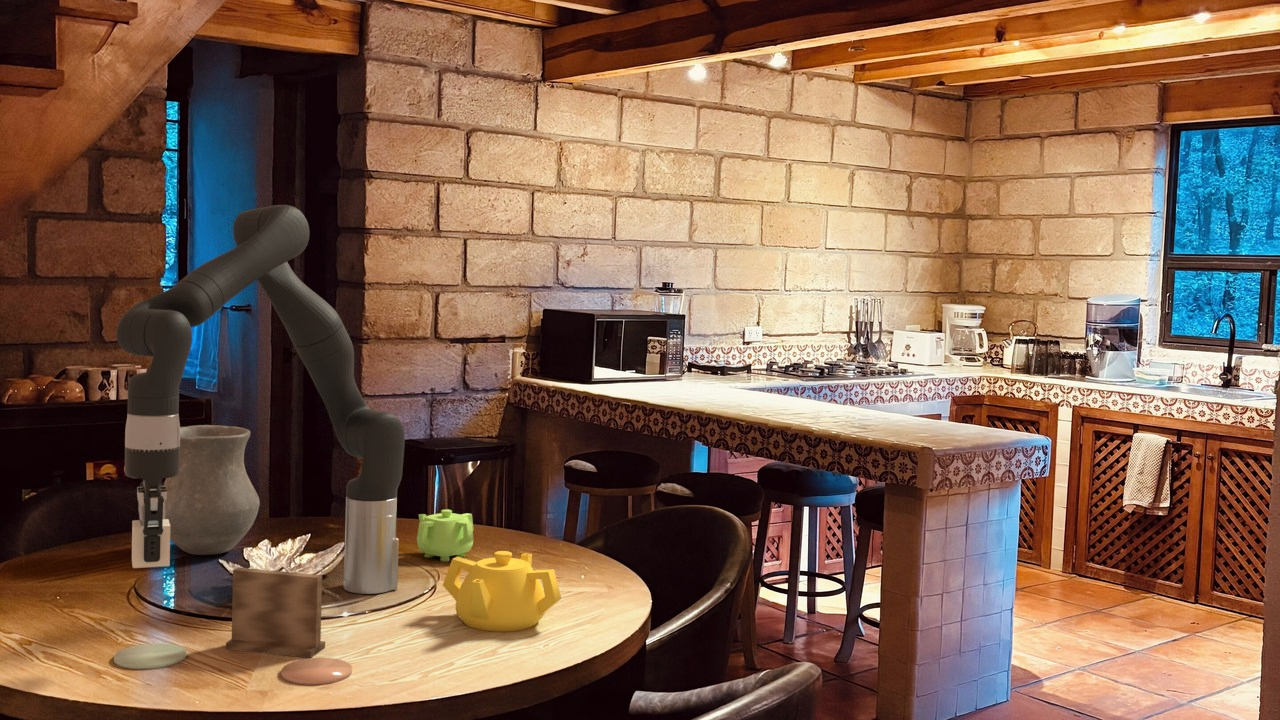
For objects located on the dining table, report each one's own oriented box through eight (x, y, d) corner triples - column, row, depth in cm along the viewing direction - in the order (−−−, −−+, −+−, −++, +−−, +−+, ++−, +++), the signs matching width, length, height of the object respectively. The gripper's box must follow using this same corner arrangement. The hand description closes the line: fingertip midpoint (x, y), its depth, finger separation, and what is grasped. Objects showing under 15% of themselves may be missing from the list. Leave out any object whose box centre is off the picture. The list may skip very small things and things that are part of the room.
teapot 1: (472, 549, 252) (474, 504, 252) (474, 563, 241) (475, 515, 240) (416, 549, 250) (418, 504, 250) (415, 563, 239) (417, 515, 238)
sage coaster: (183, 644, 183) (183, 640, 183) (188, 665, 174) (188, 661, 174) (113, 650, 179) (113, 647, 179) (114, 672, 170) (114, 668, 170)
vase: (237, 565, 231) (240, 439, 229) (141, 561, 231) (142, 434, 229) (270, 542, 251) (273, 426, 249) (181, 538, 251) (183, 422, 249)
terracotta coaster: (344, 658, 180) (344, 654, 180) (358, 680, 171) (358, 676, 171) (276, 665, 176) (276, 661, 175) (287, 688, 167) (287, 683, 166)
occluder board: (225, 648, 182) (227, 572, 181) (242, 639, 187) (243, 564, 186) (310, 657, 180) (312, 580, 179) (325, 647, 184) (326, 572, 184)
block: (167, 558, 179) (168, 517, 178) (169, 566, 174) (170, 524, 174) (131, 559, 177) (132, 519, 176) (132, 568, 172) (133, 526, 172)
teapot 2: (563, 630, 199) (566, 560, 198) (469, 640, 192) (471, 567, 191) (528, 603, 214) (530, 538, 213) (439, 611, 207) (441, 544, 206)
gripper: (183, 450, 169) (181, 567, 170) (176, 436, 182) (174, 544, 183) (126, 451, 166) (124, 570, 167) (123, 437, 179) (122, 547, 180)
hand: (150, 556), depth 175 cm, fingers closed on block, 5 cm apart
